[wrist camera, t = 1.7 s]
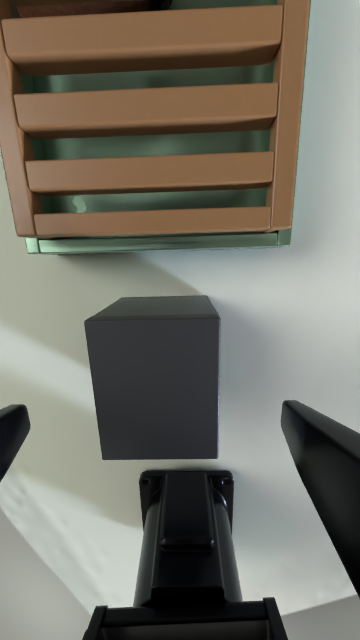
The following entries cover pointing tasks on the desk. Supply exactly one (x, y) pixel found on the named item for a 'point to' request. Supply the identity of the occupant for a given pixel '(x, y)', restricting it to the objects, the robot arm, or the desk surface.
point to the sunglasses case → (92, 8)
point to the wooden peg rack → (153, 125)
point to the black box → (156, 377)
